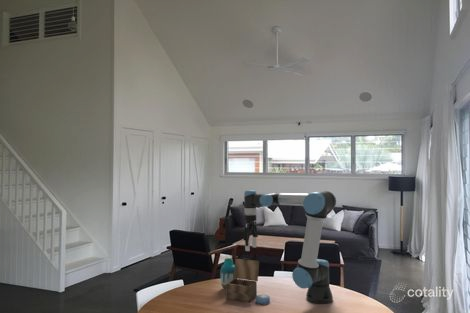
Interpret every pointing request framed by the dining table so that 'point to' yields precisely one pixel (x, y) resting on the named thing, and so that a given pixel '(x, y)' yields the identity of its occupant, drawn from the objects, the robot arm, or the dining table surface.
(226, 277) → the vase
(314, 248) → the robot arm
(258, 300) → the blue beige round disc
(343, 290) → the dining table surface
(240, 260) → the lid
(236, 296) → the box
